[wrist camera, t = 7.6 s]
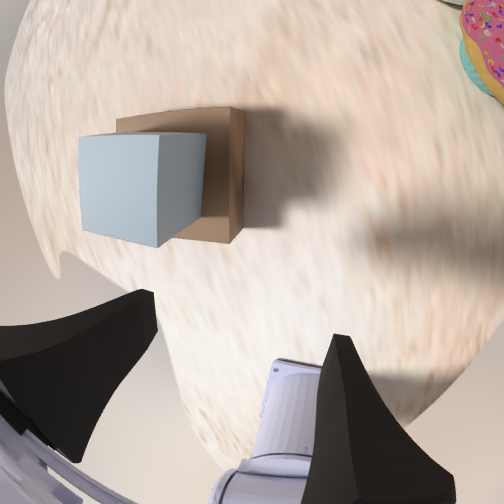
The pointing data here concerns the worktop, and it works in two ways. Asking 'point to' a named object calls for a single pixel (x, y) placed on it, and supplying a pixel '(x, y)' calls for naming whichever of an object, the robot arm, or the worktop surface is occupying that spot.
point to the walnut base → (208, 165)
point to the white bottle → (455, 1)
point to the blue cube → (141, 184)
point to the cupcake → (484, 44)
